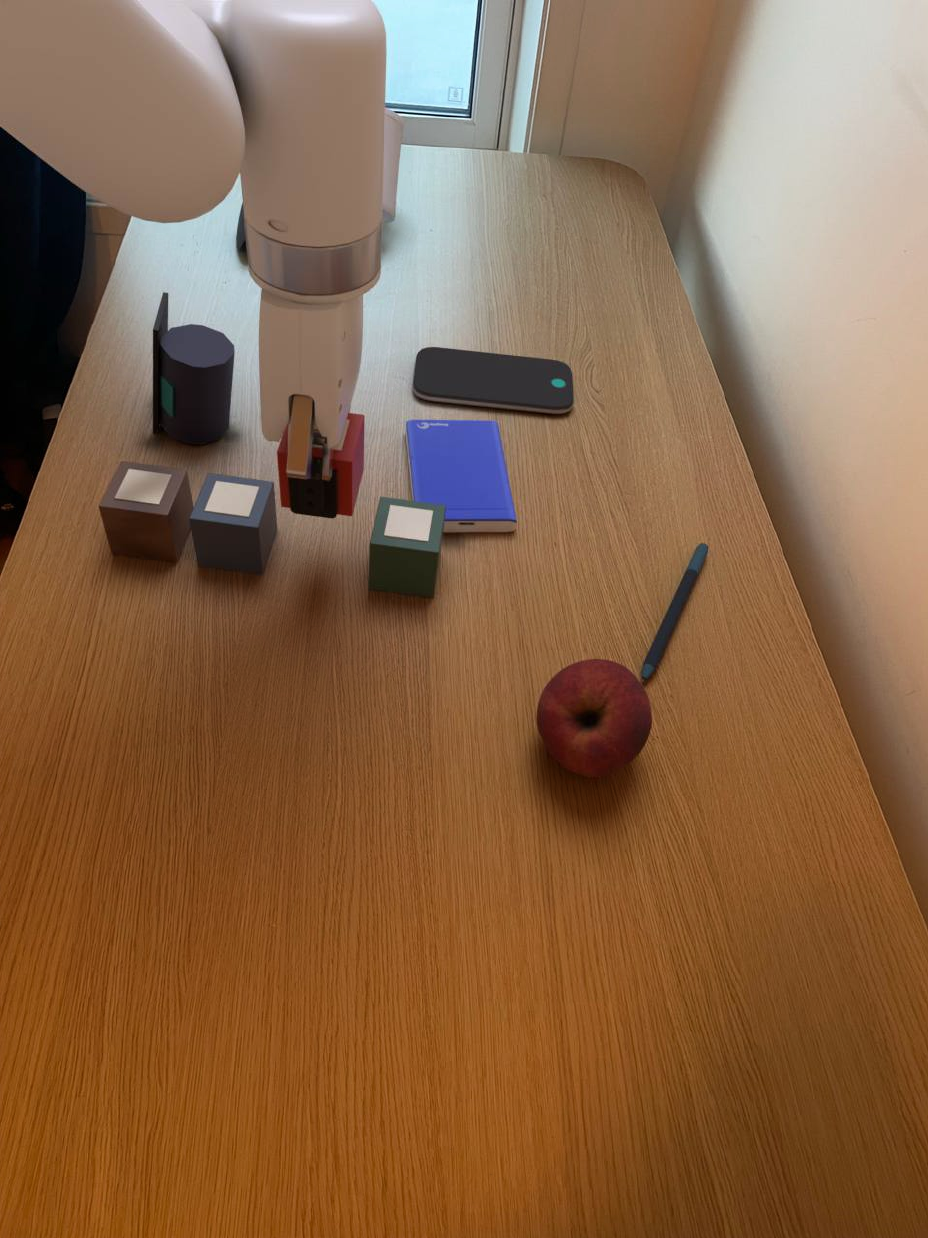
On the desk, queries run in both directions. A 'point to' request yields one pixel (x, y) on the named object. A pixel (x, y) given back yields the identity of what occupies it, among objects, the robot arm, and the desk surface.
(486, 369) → the smartphone
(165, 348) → the speaker
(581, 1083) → the desk surface
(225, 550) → the slate block
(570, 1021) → the desk surface
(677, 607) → the pen
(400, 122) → the light fixture
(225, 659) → the desk surface
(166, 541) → the walnut block
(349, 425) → the red block
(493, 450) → the hard drive
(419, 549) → the green block
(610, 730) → the apple
